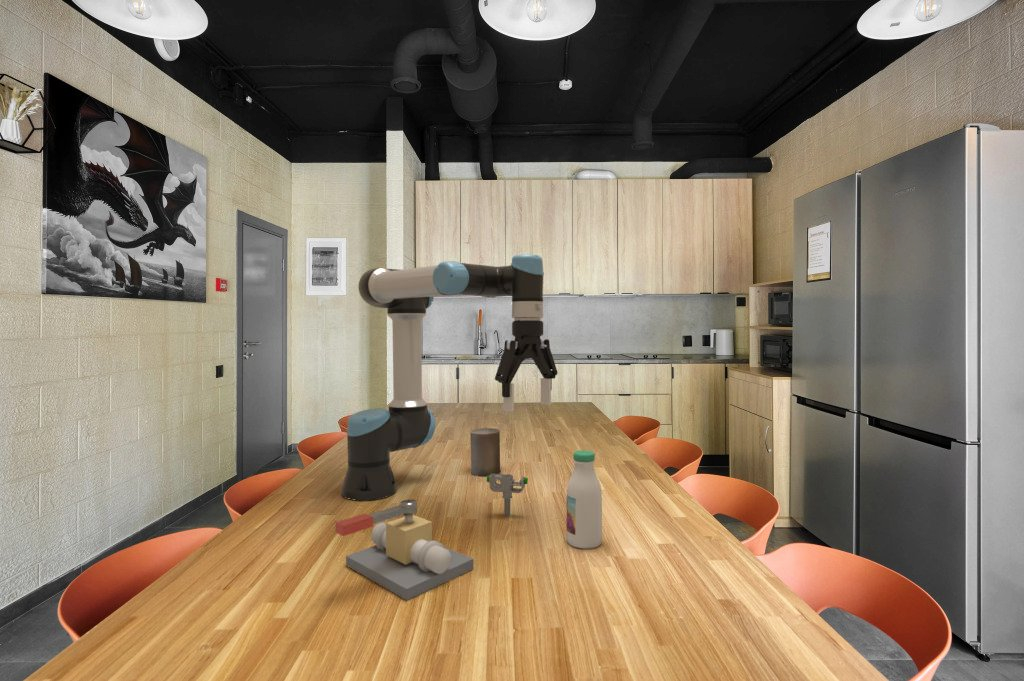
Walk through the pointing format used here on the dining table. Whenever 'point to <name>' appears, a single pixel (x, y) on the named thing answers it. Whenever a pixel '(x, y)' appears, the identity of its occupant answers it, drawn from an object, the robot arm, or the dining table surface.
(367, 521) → the valve lever
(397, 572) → the pipe valve base
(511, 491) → the mechanical component
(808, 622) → the dining table surface
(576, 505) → the milk bottle
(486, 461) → the pillar candle
